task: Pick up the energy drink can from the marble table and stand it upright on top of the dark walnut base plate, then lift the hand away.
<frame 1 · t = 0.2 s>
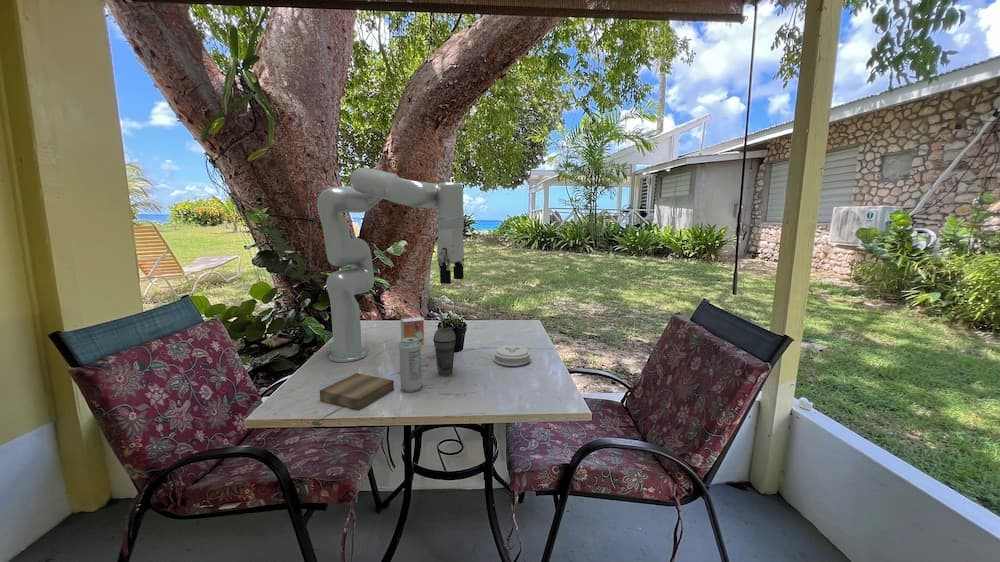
hand: (452, 281, 126), 31 cm above the table, tool pointing down, fingers open, 9 cm apart
walnut base: (358, 395, 117), on the table
small box: (412, 345, 163), on the table
energy drink can: (411, 389, 122), on the table
beverage cup: (445, 374, 133), on the table
lid: (512, 362, 145), on the table
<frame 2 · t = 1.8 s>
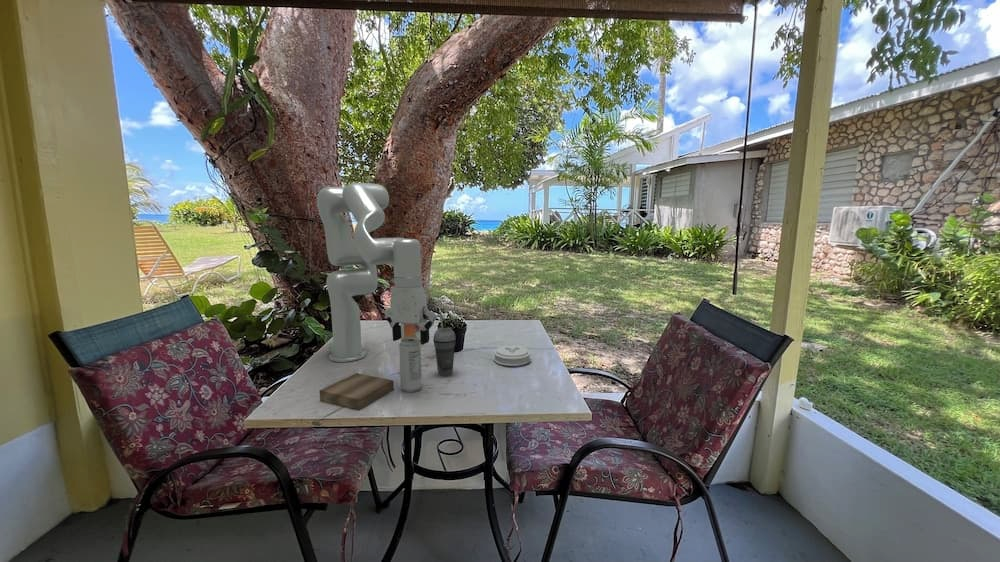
hand: (410, 341, 119), 15 cm above the table, tool pointing down, fingers open, 9 cm apart
nothing on the table moved.
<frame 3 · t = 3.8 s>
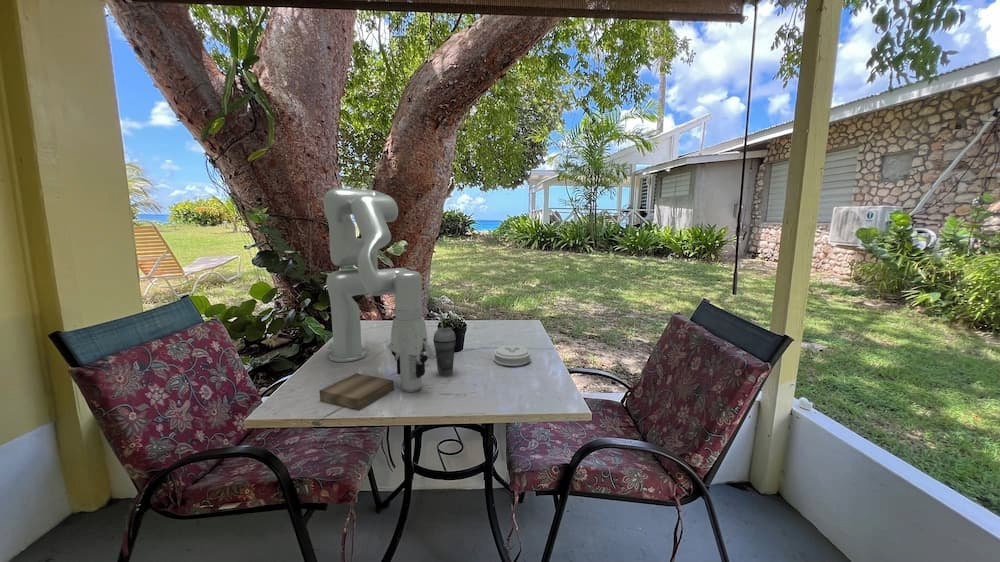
hand: (411, 373, 121), 5 cm above the table, tool pointing down, fingers closed on energy drink can, 6 cm apart
energy drink can: (411, 389, 122), on the table, touching gripper
everything else where it was.
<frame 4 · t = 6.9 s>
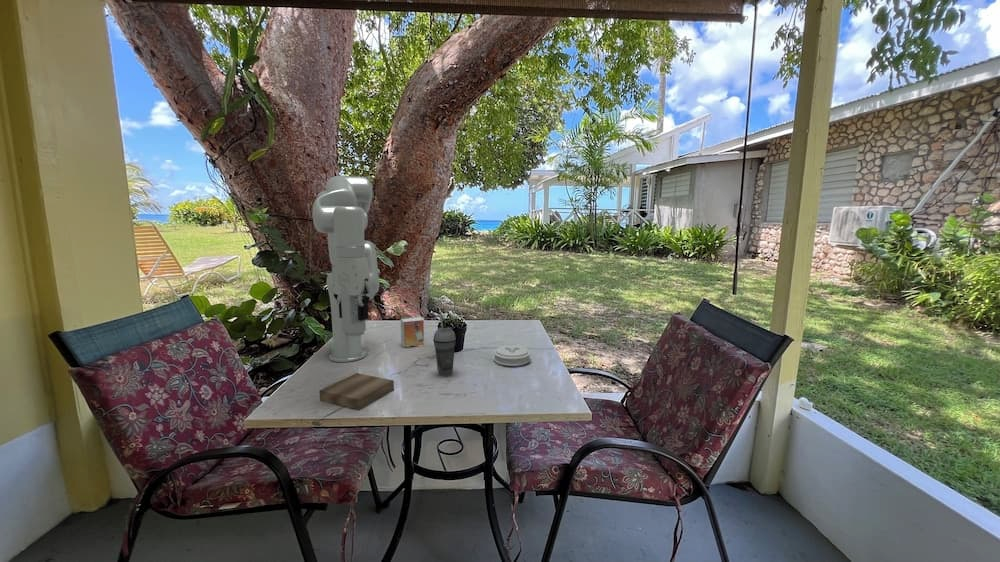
hand: (353, 317, 114), 23 cm above the table, tool pointing down, fingers closed on energy drink can, 6 cm apart
energy drink can: (354, 334, 114), point 18 cm above the table, touching gripper
everything else where it was.
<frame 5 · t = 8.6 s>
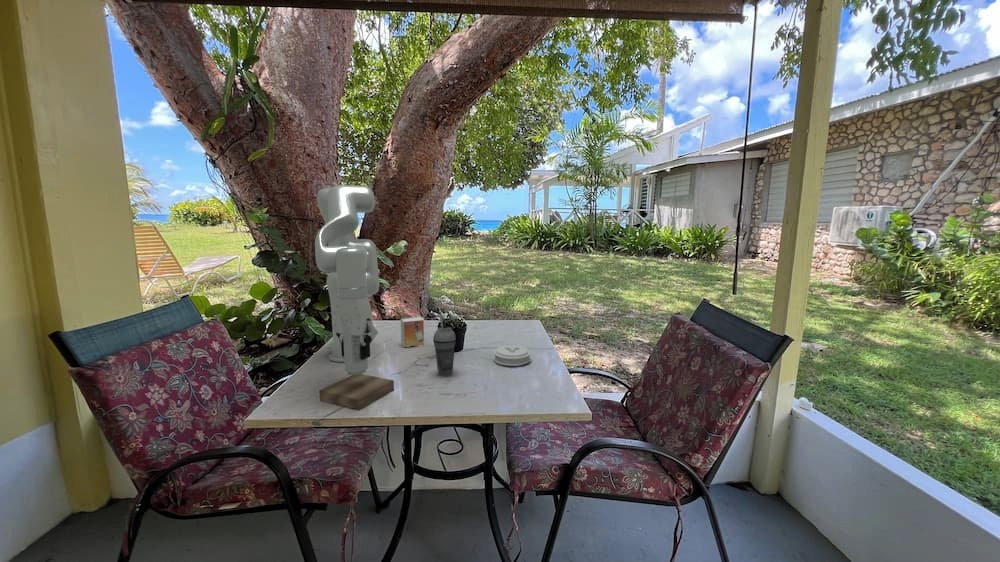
hand: (356, 355, 115), 12 cm above the table, tool pointing down, fingers closed on energy drink can, 6 cm apart
energy drink can: (356, 372, 116), point 7 cm above the table, touching gripper
everything else where it was.
when the fingers open (9 cm above the table, at t = 10.1 s): energy drink can drops 1 cm, resting on walnut base.
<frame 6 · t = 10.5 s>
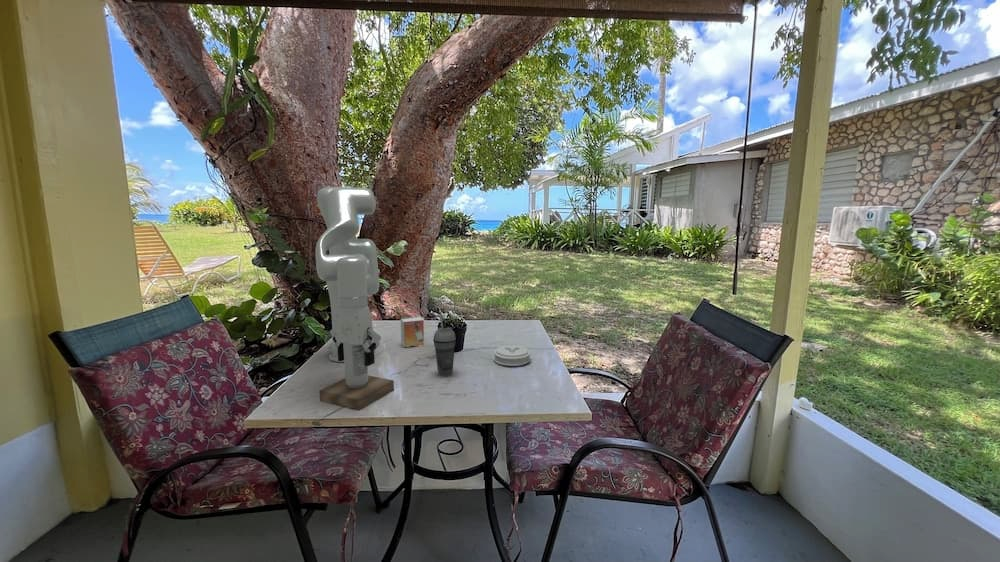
hand: (356, 362, 116), 10 cm above the table, tool pointing down, fingers open, 9 cm apart
energy drink can: (357, 385, 117), point 3 cm above the table, touching walnut base
everything else where it was.
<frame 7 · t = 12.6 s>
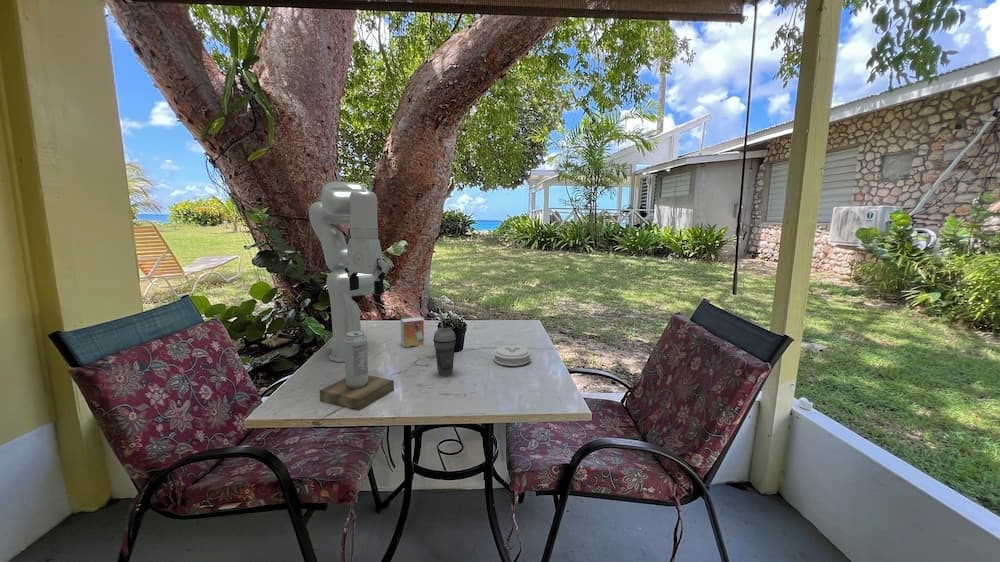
hand: (366, 291, 124), 28 cm above the table, tool pointing down, fingers open, 9 cm apart
nothing on the table moved.
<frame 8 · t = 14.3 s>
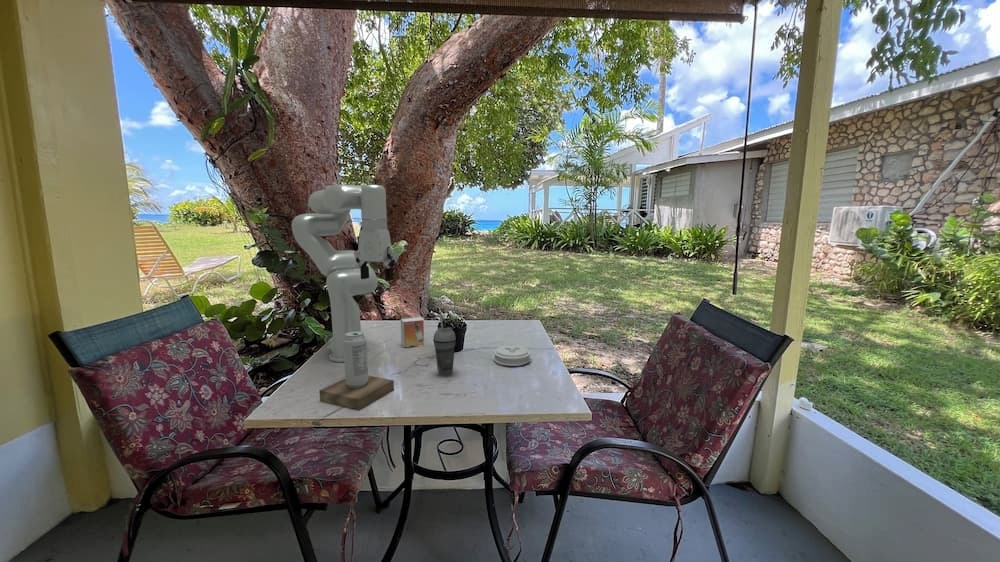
hand: (376, 279, 132), 30 cm above the table, tool pointing down, fingers open, 9 cm apart
nothing on the table moved.
at the end: energy drink can inside the target area on the walnut base (0.2 cm from its centre), point 2.8 cm above the walnut base's base; energy drink can tilted 0°; the gripper is holding nothing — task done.
